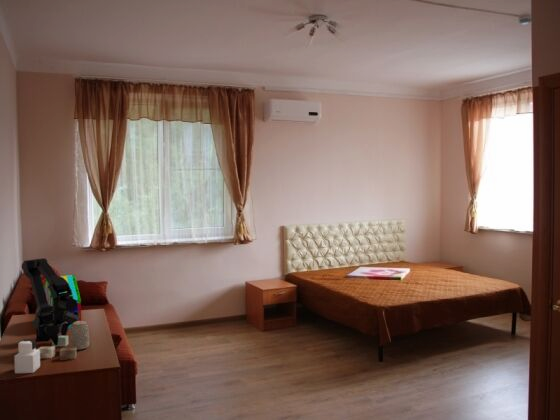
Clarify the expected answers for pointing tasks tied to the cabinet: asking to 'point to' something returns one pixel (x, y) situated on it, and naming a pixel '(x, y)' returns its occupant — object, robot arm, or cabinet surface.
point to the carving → (80, 335)
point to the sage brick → (62, 341)
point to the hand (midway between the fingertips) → (60, 341)
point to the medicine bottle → (27, 357)
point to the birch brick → (47, 352)
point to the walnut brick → (68, 353)
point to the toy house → (73, 287)
